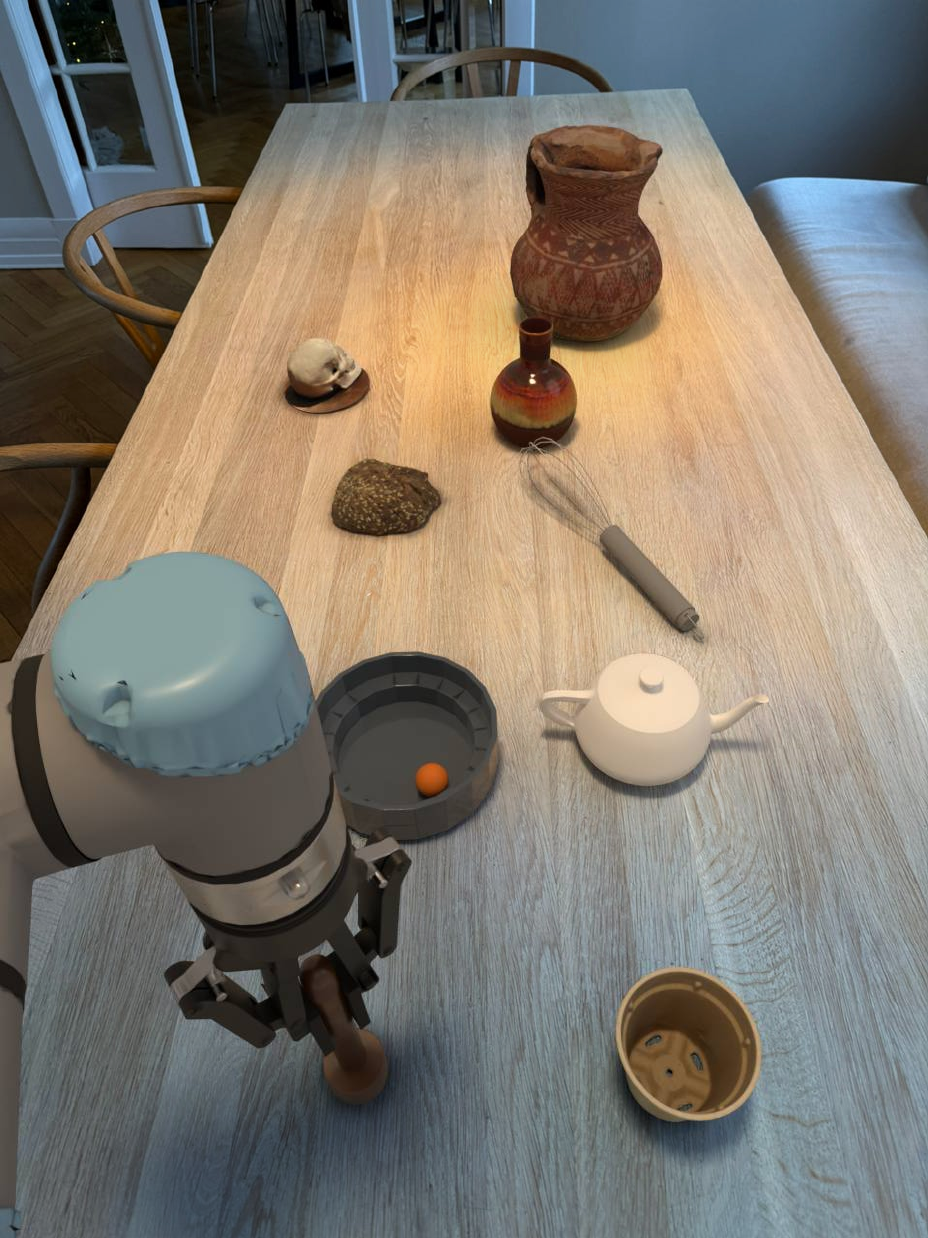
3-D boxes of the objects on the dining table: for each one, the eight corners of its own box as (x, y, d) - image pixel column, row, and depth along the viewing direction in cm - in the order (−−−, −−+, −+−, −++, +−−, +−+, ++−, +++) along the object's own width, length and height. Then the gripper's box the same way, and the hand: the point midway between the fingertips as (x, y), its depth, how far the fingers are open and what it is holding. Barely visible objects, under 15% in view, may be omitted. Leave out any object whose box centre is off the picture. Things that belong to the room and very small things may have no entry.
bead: (429, 809, 78) (426, 792, 76) (409, 786, 80) (407, 768, 78) (456, 791, 80) (454, 773, 77) (436, 768, 81) (434, 751, 79)
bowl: (380, 881, 75) (373, 848, 70) (283, 748, 84) (271, 711, 80) (534, 775, 81) (536, 738, 77) (428, 662, 91) (424, 624, 86)
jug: (671, 300, 138) (697, 127, 119) (631, 370, 125) (654, 189, 107) (538, 276, 144) (544, 108, 126) (488, 340, 132) (486, 164, 113)
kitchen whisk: (678, 656, 90) (688, 615, 86) (507, 478, 110) (508, 436, 106) (725, 633, 92) (737, 591, 87) (549, 462, 112) (551, 421, 108)
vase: (587, 419, 118) (596, 312, 106) (554, 466, 111) (560, 358, 100) (512, 399, 121) (513, 294, 110) (476, 444, 115) (473, 337, 103)
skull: (340, 345, 130) (358, 317, 120) (369, 411, 130) (389, 388, 121) (265, 369, 125) (277, 342, 116) (295, 437, 126) (310, 415, 116)
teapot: (743, 695, 87) (766, 627, 79) (759, 806, 79) (787, 742, 71) (539, 684, 88) (543, 616, 81) (535, 792, 80) (538, 728, 73)
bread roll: (319, 528, 105) (313, 496, 101) (355, 464, 113) (351, 432, 109) (422, 546, 102) (419, 514, 99) (451, 479, 110) (450, 447, 106)
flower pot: (761, 1076, 64) (791, 1039, 58) (683, 1182, 60) (705, 1156, 53) (657, 982, 69) (673, 938, 62) (577, 1075, 64) (586, 1038, 58)
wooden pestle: (348, 1119, 63) (299, 1024, 47) (317, 1066, 65) (260, 959, 50) (399, 1078, 65) (368, 974, 49) (367, 1028, 67) (327, 913, 51)
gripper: (138, 1028, 34) (261, 1157, 52) (451, 816, 40) (465, 996, 57) (69, 883, 38) (205, 1047, 56) (361, 709, 44) (401, 908, 61)
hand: (337, 1021), depth 56 cm, fingers closed on wooden pestle, 2 cm apart
